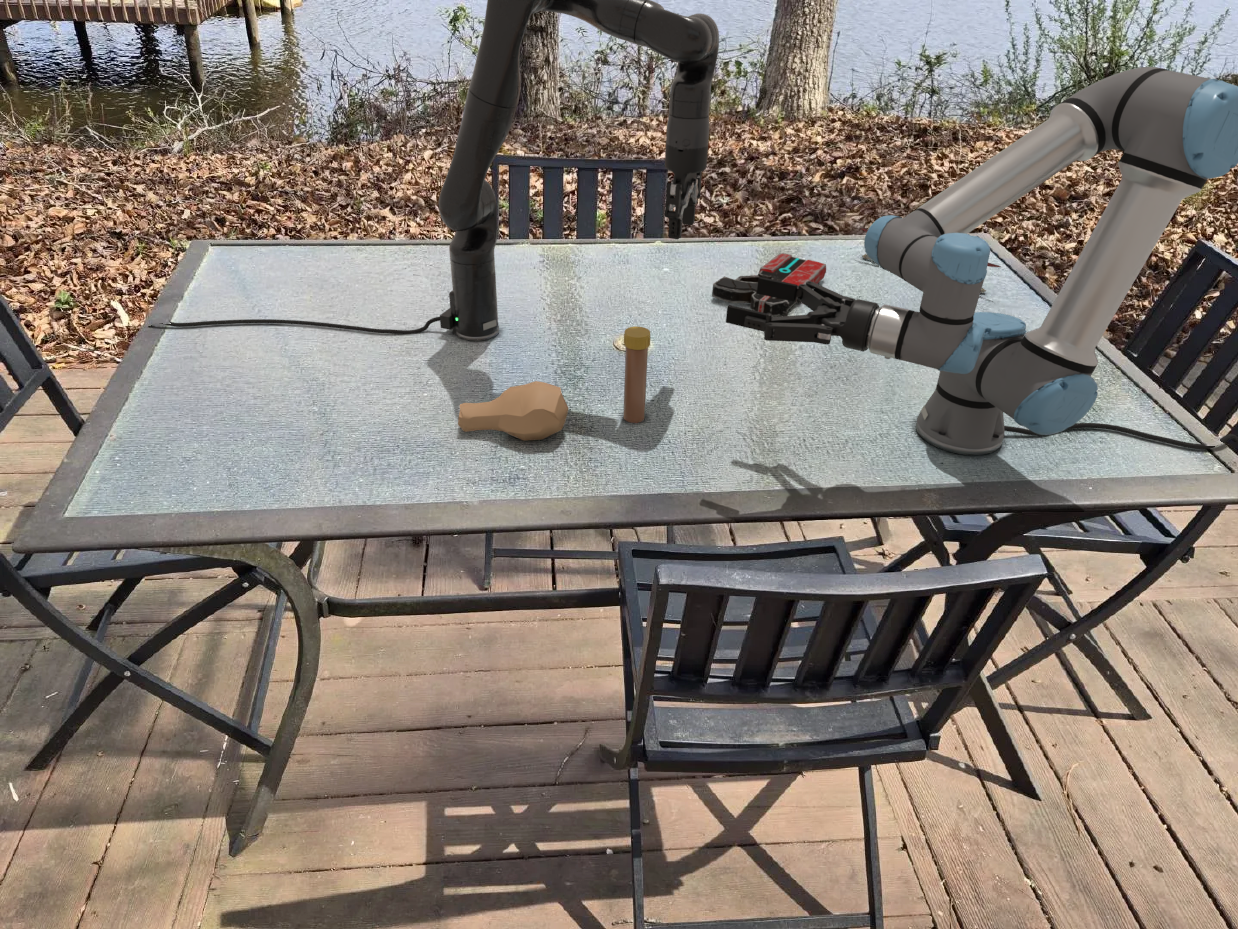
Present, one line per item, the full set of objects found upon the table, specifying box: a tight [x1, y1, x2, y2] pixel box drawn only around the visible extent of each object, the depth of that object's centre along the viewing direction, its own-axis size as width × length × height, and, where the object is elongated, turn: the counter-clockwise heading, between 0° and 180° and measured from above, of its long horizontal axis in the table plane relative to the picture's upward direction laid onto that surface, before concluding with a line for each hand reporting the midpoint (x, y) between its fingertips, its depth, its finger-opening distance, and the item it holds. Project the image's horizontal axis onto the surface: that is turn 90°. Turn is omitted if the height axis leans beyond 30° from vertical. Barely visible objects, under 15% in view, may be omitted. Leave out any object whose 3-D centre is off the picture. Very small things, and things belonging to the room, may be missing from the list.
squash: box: [457, 380, 570, 442], centre depth 157 cm, size 11×20×9 cm, turn 90°
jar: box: [622, 346, 649, 424], centre depth 159 cm, size 4×4×17 cm
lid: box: [623, 326, 651, 350], centre depth 155 cm, size 5×5×2 cm
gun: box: [711, 252, 827, 317], centre depth 215 cm, size 4×31×19 cm
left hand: (681, 231), depth 164 cm, fingers open, 8 cm apart
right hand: (743, 298), depth 141 cm, fingers open, 13 cm apart
